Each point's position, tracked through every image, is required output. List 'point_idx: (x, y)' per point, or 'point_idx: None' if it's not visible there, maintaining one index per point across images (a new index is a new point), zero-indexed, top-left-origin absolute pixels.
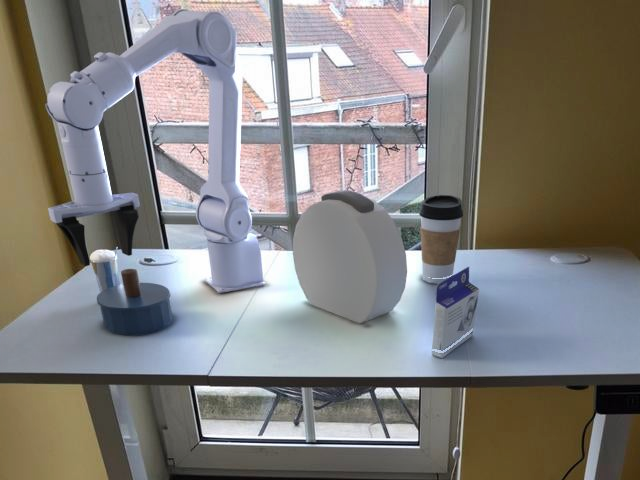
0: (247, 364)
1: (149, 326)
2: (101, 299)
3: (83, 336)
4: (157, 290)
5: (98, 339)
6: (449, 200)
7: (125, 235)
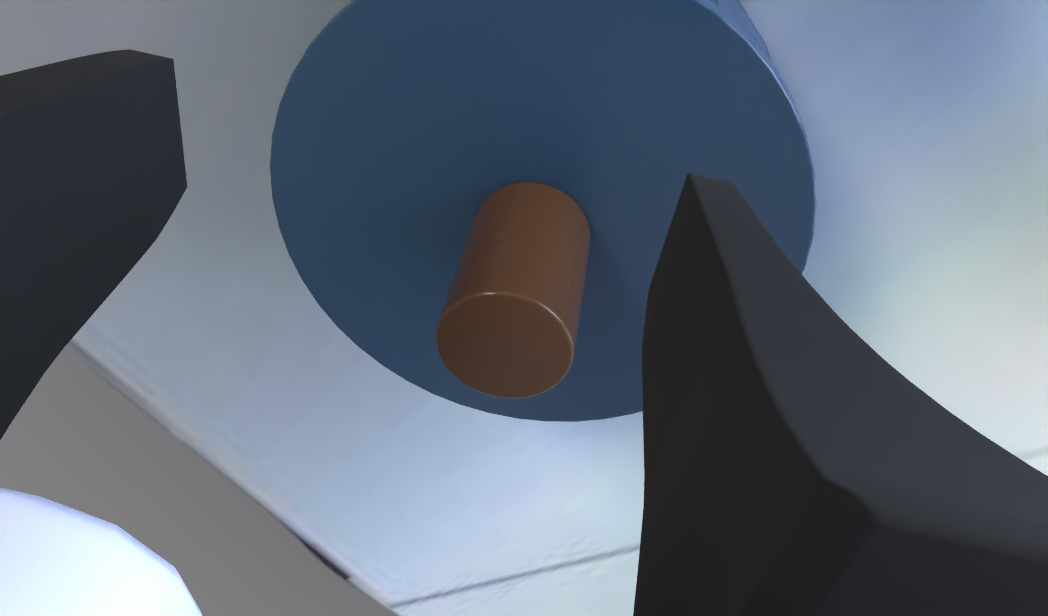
0: None
1: None
2: (314, 114)
3: (201, 14)
4: None
5: (250, 122)
6: None
7: (659, 458)
